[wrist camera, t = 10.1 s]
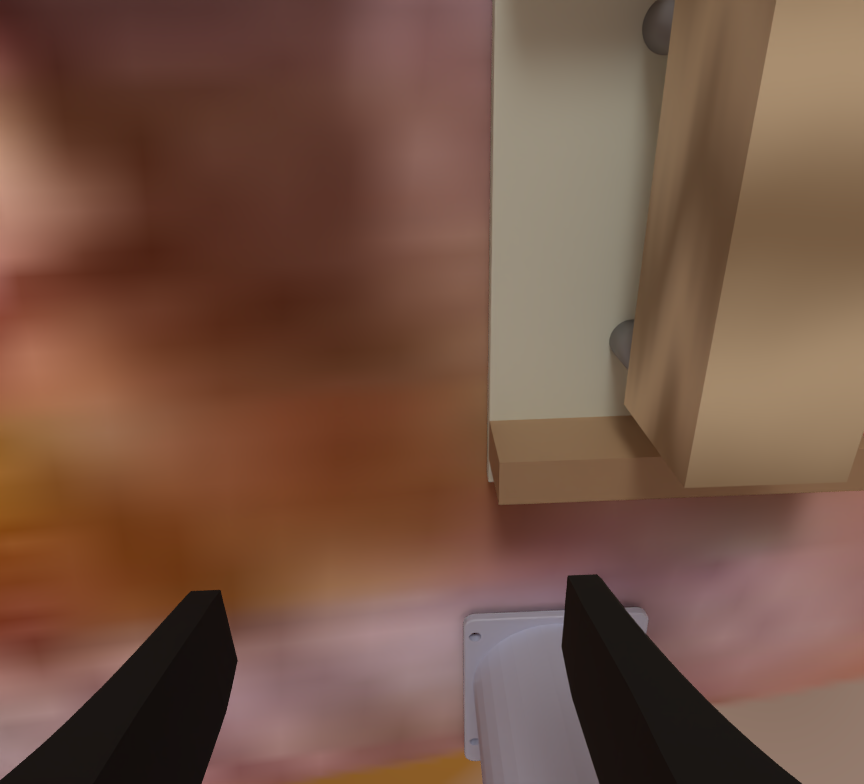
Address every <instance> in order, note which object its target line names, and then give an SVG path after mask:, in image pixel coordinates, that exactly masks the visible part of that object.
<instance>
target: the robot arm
mask: <svg viewBox="0 0 864 784" xmlns="http://www.w3.org/2000/svg"><path fill="white" fill-rule="evenodd" d="M647 626H648V616H647V614H646V612H645V610H644V609H642V608H639V607H626V608H624V607H623V606H622V604H621V603H620V602H619V601H618V599H617V598H616V597H615V595H614V594H613V593H612V592H611V590H610V589H609V588H608V586H607V585H606V584H605V582H604V581H603V580H602V579H601V578H600V577H599V576H598V575H597V574H596V575H572V576H568V578H567V589H566V600H565V610H554V611H530V612H506V613H482V614H471V615H469V616H467V617H466V618H465V619H464V621H463V674H464V751H465V757H466V758H467V759H469V760H471V761H481V769H482V778H483V784H802V783H800V782H799V781H798V780H797V779H795V778H794V777H793V776H792V775H790V774H789V773H788V772H787V771H785V770H784V769H783V768H782V767H780V766H779V765H778V764H777V763H776V762H774V761H773V760H772V759H771V758H770V757H769V756H767V755H766V754H765V753H764V752H763V751H761V750H760V749H759V748H758V747H757V746H756V745H754V744H753V743H752V742H751V741H750V740H749V739H748V738H747V737H746V736H744V735H743V734H742V733H741V732H740V731H739V730H738V729H737V728H736V727H735V726H734V725H732V724H731V723H730V722H729V721H728V720H727V719H726V718H725V717H724V716H723V715H722V714H721V713H720V712H719V711H718V710H717V709H716V708H715V707H714V706H713V705H712V704H711V703H710V702H708V701H707V700H706V699H705V698H704V696H703V695H702V694H701V693H700V692H699V691H698V690H697V689H696V688H695V687H694V686H693V685H692V684H691V683H690V682H689V681H688V680H687V679H686V678H685V677H684V676H683V675H682V674H681V673H680V672H679V671H678V669H677V668H676V667H675V666H674V665H673V664H672V663H671V662H670V661H669V660H668V658H667V657H666V656H665V655H664V654H663V653H662V652H661V651H660V649H659V648H658V647H657V646H656V645H655V644H654V643H653V642H652V640H651V639H650V638H649V637H648V636H647V635H646V632H647ZM472 633H478V634H472ZM237 661H238V660H237V656H236V652H235V648H234V644H233V640H232V636H231V632H230V628H229V623H228V619H227V615H226V611H225V607H224V603H223V599H222V595H221V591H220V590H208V591H191V592H190V593H189V594H188V595H187V596H186V597H185V598H184V599H183V600H182V601H181V602H180V603H179V604H178V605H177V607H176V608H175V609H174V610H173V611H172V612H171V613H170V614H169V615H168V616H167V618H166V619H165V620H164V621H163V622H162V623H161V624H160V625H159V626H158V628H157V629H156V630H155V631H154V632H153V633H152V634H151V635H150V636H149V637H148V639H147V640H146V641H145V642H144V643H143V644H142V645H141V646H140V647H139V648H138V650H137V651H136V652H135V653H134V654H133V655H132V656H131V657H130V658H129V659H128V660H127V661H126V662H125V663H124V664H123V665H122V666H121V668H120V669H119V670H118V671H117V672H116V673H115V674H114V675H113V676H112V677H111V678H110V679H109V680H108V681H107V682H106V683H105V684H104V685H103V686H102V687H101V688H100V689H99V690H98V691H97V692H96V693H95V694H94V695H93V696H92V697H91V698H90V699H89V700H88V701H87V702H86V703H85V704H84V705H83V706H82V707H81V708H80V709H79V710H78V711H77V712H76V713H75V714H74V715H73V716H72V717H71V718H70V719H69V720H68V721H67V722H66V723H65V724H64V725H63V726H62V727H60V728H59V729H58V730H57V731H56V732H55V733H54V734H53V735H52V736H51V737H50V738H49V739H47V740H46V741H45V742H44V743H43V744H42V745H41V746H40V747H39V748H37V749H36V750H35V751H34V752H33V753H32V754H31V755H29V756H28V757H27V758H26V759H25V760H24V761H22V762H21V763H20V764H19V765H18V766H17V767H15V768H14V769H13V770H12V771H11V772H10V773H8V774H7V775H6V776H5V777H4V778H2V779H1V780H0V784H202V781H203V778H204V775H205V772H206V769H207V766H208V763H209V761H210V758H211V755H212V752H213V749H214V746H215V743H216V740H217V737H218V734H219V732H220V729H221V726H222V723H223V720H224V717H225V714H226V710H227V706H228V702H229V697H230V693H231V689H232V684H233V680H234V675H235V670H236V665H237Z"/></svg>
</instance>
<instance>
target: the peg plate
mask: <svg viewBox="0 0 864 784" xmlns="http://www.w3.org/2000/svg"><path fill="white" fill-rule="evenodd" d="M674 4H675V0H492V71H491V159H490V247H489V335H488V423H487V476H488V481H489V482H494V485H495V490H496V495H497V499H498V504H499V505H511V504H536V503H561V502H586V501H611V500H636V499H661V498H686V497H711V496H736V495H761V494H786V493H811V492H836V491H861V490H864V436H862V438H861V441H860V444H859V447H858V450H857V453H856V456H855V459H854V462H853V465H852V468H851V471H850V474H849V477H848V480H847V482H837V483H810V484H782V485H755V486H728V487H700V488H684V487H683V485H682V484H681V483H680V481H679V480H678V479H677V477H676V476H675V474H674V473H673V472H672V470H671V469H670V468H669V466H668V465H667V463H666V462H665V461H664V459H663V458H662V456H661V455H660V454H659V452H658V451H657V450H656V448H655V447H654V445H653V444H652V443H651V441H650V440H649V438H648V437H647V436H646V434H645V433H644V432H643V430H642V429H641V427H640V426H639V425H638V423H637V422H636V420H635V419H634V418H633V416H632V415H631V414H630V412H629V411H628V409H627V408H626V407H625V405H624V399H625V391H626V383H627V375H628V367H629V359H630V351H631V343H632V336H633V328H634V320H635V312H636V304H637V296H638V288H639V280H640V272H641V265H642V257H643V249H644V241H645V233H646V225H647V217H648V209H649V201H650V193H651V186H652V178H653V170H654V162H655V154H656V146H657V138H658V130H659V122H660V114H661V107H662V99H663V91H664V83H665V75H666V67H667V59H668V51H669V43H670V35H671V28H672V20H673V12H674Z"/></svg>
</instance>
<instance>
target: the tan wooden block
mask: <svg viewBox="0 0 864 784" xmlns="http://www.w3.org/2000/svg"><path fill="white" fill-rule="evenodd" d="M624 405H625V407H626V408H627V409H628V411H629V412H630V414H631V415H632V416H633V418H634V419H635V420H636V422H637V423H638V425H639V426H640V427H641V429H642V430H643V432H644V433H645V434H646V436H647V437H648V438H649V440H650V441H651V443H652V444H653V445H654V447H655V448H656V450H657V451H658V452H659V454H660V455H661V456H662V458H663V459H664V461H665V462H666V463H667V465H668V466H669V468H670V469H671V470H672V472H673V473H674V474H675V476H676V477H677V479H678V480H679V481H680V483H681V484H682V485H683V487H684V488H700V487H728V486H755V485H782V484H810V483H837V482H847V480H848V477H849V474H850V471H851V468H852V465H853V462H854V459H855V456H856V453H857V450H858V447H859V444H860V441H861V438H862V435H863V432H864V0H675V4H674V12H673V20H672V28H671V35H670V43H669V51H668V59H667V67H666V75H665V83H664V91H663V99H662V107H661V114H660V122H659V130H658V138H657V146H656V154H655V162H654V170H653V178H652V186H651V193H650V201H649V209H648V217H647V225H646V233H645V241H644V249H643V257H642V265H641V272H640V280H639V288H638V296H637V304H636V312H635V320H634V328H633V336H632V343H631V351H630V359H629V367H628V375H627V383H626V391H625V399H624Z"/></svg>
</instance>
